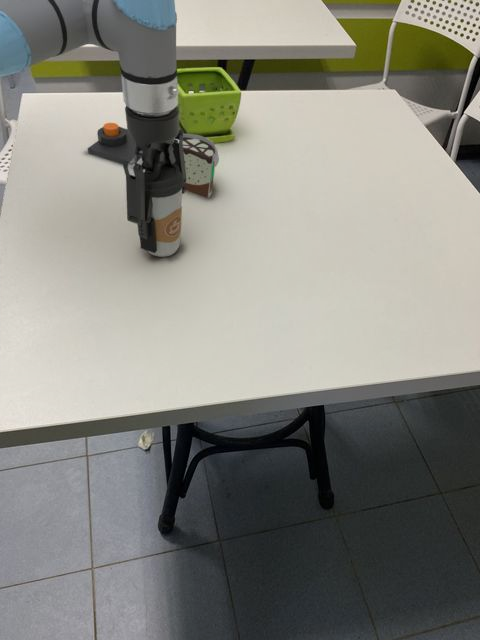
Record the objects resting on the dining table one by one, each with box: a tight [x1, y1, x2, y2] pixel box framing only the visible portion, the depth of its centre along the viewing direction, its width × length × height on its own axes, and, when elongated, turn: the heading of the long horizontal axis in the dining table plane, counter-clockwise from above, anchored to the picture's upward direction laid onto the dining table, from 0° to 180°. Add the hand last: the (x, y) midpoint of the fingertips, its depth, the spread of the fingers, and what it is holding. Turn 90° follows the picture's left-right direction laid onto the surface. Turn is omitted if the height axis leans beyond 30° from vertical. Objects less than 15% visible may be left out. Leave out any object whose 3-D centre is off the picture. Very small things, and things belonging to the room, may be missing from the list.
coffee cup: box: [144, 163, 184, 257], centre depth 83 cm, size 8×8×15 cm
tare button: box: [102, 122, 120, 136], centre depth 109 cm, size 3×3×2 cm
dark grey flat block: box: [87, 125, 136, 165], centre depth 110 cm, size 17×12×4 cm
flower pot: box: [177, 66, 242, 144], centre depth 114 cm, size 14×14×13 cm
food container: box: [183, 134, 220, 199], centre depth 101 cm, size 12×6×10 cm, turn 65°
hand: (161, 236), depth 87 cm, fingers closed on coffee cup, 8 cm apart
